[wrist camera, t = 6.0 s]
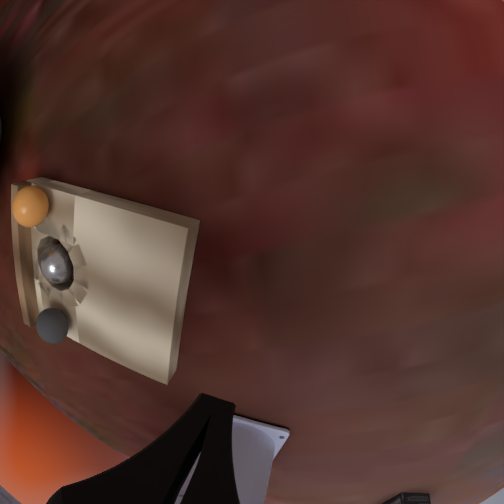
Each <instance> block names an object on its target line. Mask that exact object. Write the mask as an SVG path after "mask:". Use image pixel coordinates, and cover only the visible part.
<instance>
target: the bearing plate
mask: <svg viewBox="0 0 504 504" xmlns="http://www.w3.org/2000/svg"><path fill="white" fill-rule="evenodd" d="M31 185H32V186H37V187H39V188H41V189H42V190H43V191H44V192H45V194H46V195H47V198H48V202H49V209H48V213H47V215H46V217H45V219H44V220H43V221H42V222H41V223H40V224H39V225H37V226H35V227H24V226H22V225H20V224H19V223H18V222H17V221H16V219H15V218H14V215H13V212H12V204H13V200H14V197H15V195H16V194H17V193H18V191H19V190H21V189H22V188H24V187H26V186H31ZM11 221H12V240H13V253H14V263H15V272H16V280H17V287H18V293H19V299H20V305H21V310H22V315H23V320H24V323H25V324H26V325H28V326H29V327H32V326H33V325H34V324H36V321H37V317H38V315H39V314H40V313H41V312H42V311H43V310H44V309H47V308H55V309H58V310H60V311H61V312H62V313H63V314H64V315H65V317H66V318H67V321H68V325H69V329H68V334H67V336H68V337H69V338H71V339H73V340H75V341H77V342H78V343H80V344H82V345H84V346H86V347H87V348H89V349H91V350H93V351H95V352H97V353H99V354H101V355H103V356H105V357H107V358H109V359H111V360H113V361H115V362H117V363H119V364H121V365H123V366H125V367H127V368H129V369H132V370H134V371H136V372H138V373H140V374H143V375H145V376H147V377H150V378H152V379H154V380H157V381H159V382H161V383H164V384H166V385H167V384H168V383H169V381H170V379H171V378H172V376H173V374H174V373H175V371H176V369H177V361H178V353H179V346H180V339H181V331H182V325H183V318H184V311H185V305H186V298H187V292H188V286H189V280H190V274H191V268H192V262H193V257H194V251H195V246H196V240H197V235H198V230H199V224H200V220H197V219H194V218H190V217H187V216H183V215H180V214H176V213H173V212H169V211H166V210H162V209H158V208H155V207H151V206H148V205H144V204H140V203H137V202H133V201H130V200H126V199H122V198H119V197H115V196H111V195H108V194H104V193H100V192H97V191H93V190H89V189H85V188H82V187H78V186H74V185H70V184H67V183H63V182H59V181H55V180H51V179H47V178H44V177H40V178H35V179H31V180H26V181H22V182H18V183H14V184H11ZM54 238H55V239H58V240H59V241H60V242H61V243H62V245H63V246H64V247H65V248H66V250H67V251H68V253H69V256H70V259H71V261H72V264H73V268H74V281H73V280H71V279H69V280H67V281H66V282H64V283H58V284H57V283H52V282H50V281H48V280H47V279H46V278H45V277H44V276H43V274H42V272H41V270H40V257H41V254H42V252H43V251H44V249H45V248H46V247H48V246H49V245H51V244H53V240H54Z"/></svg>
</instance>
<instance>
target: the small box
mask: <svg viewBox="0 0 504 504" xmlns="http://www.w3.org/2000/svg"><path fill="white" fill-rule="evenodd" d="M383 504H431V502H430V496H429V494H416V493H401V494H399V495H397V496H396V497H394V498H392V499H391V500H389V501H387V502H385V503H383Z"/></svg>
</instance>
